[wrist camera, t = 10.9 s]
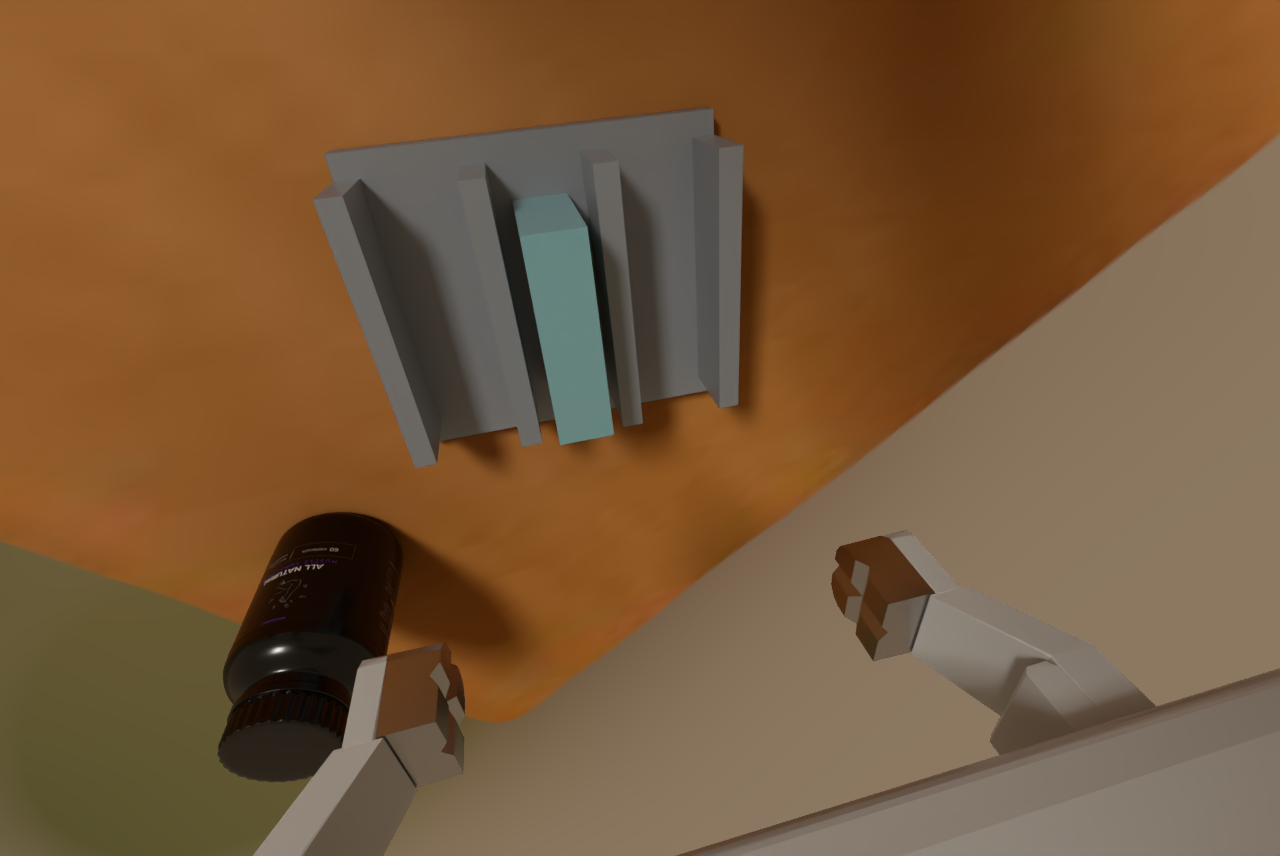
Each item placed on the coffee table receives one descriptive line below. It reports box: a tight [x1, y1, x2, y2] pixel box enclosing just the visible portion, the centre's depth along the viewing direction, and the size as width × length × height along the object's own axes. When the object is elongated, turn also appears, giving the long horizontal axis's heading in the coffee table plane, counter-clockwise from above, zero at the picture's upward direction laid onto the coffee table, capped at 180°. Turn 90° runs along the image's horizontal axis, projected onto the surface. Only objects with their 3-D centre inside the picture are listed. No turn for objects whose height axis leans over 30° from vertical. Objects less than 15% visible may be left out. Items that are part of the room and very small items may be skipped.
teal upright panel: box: [512, 193, 614, 445], centre depth 25 cm, size 9×2×6 cm, turn 5°
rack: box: [313, 107, 743, 468], centre depth 26 cm, size 14×16×4 cm
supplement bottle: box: [218, 513, 403, 782], centre depth 29 cm, size 7×7×12 cm
